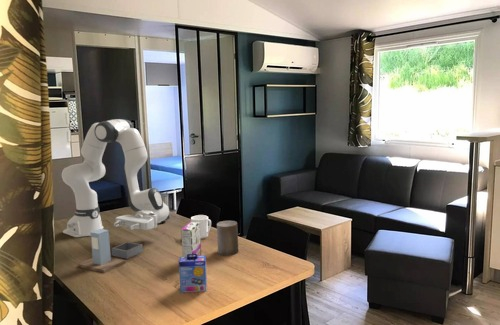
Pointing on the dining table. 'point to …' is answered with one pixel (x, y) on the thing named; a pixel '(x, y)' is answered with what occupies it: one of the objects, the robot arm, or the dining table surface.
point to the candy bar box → (191, 239)
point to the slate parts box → (100, 246)
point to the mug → (202, 224)
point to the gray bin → (124, 252)
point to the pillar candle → (227, 237)
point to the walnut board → (104, 267)
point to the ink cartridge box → (192, 273)
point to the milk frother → (165, 200)
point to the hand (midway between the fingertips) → (122, 226)
